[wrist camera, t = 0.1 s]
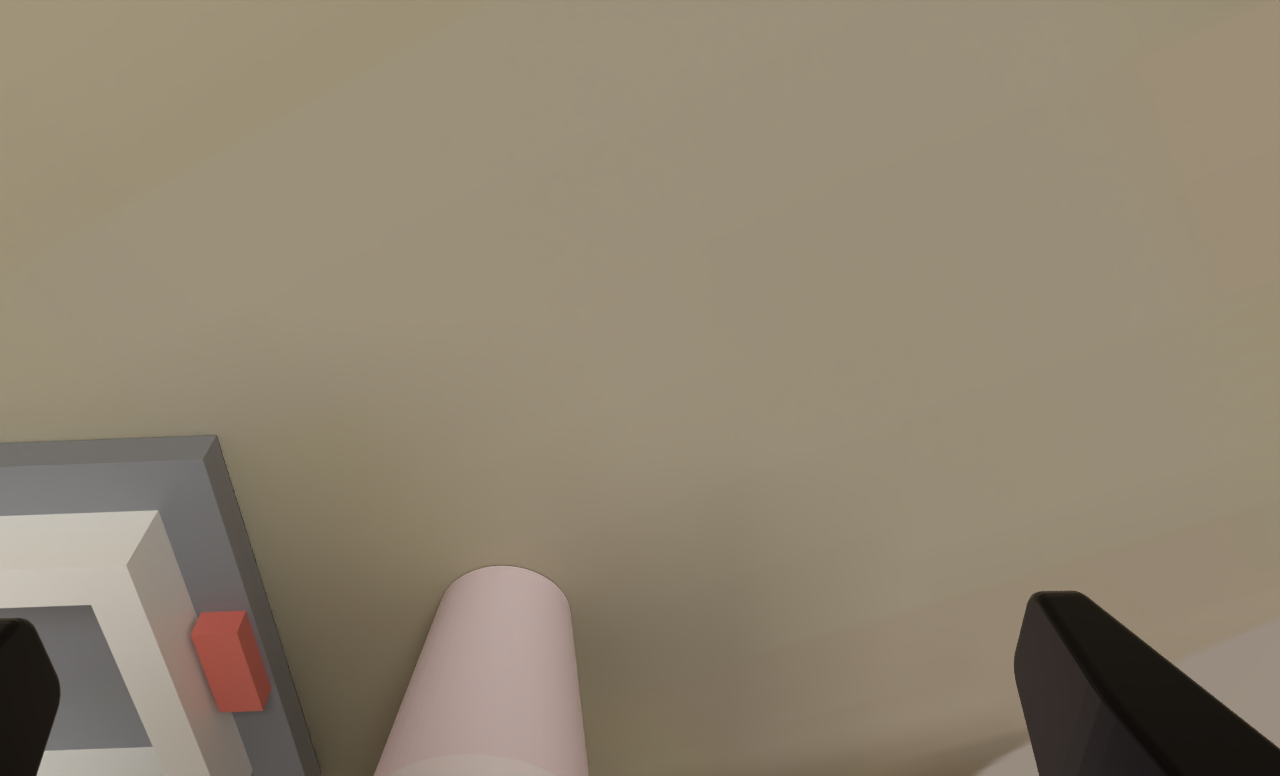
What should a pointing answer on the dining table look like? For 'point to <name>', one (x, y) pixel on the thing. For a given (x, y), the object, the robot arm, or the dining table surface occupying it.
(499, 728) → the smoothie
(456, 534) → the dining table surface
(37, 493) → the socket plate
